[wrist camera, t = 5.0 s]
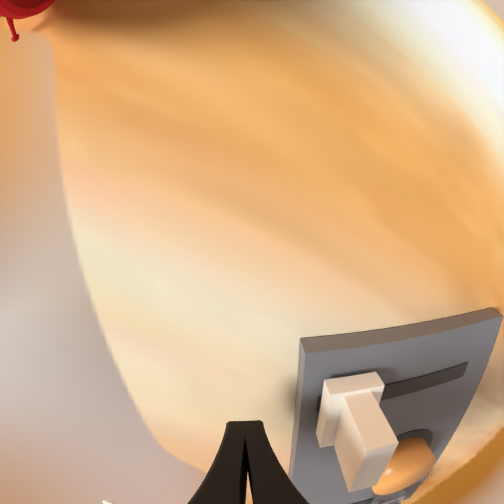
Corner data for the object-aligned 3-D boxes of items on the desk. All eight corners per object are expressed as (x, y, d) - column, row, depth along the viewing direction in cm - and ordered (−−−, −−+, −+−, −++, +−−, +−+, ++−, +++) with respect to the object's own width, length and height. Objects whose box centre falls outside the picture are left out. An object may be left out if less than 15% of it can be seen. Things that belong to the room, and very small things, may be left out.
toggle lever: (375, 371, 11) (414, 434, 7) (361, 424, 12) (387, 483, 8) (324, 379, 11) (351, 451, 7) (315, 433, 12) (333, 497, 8)
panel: (490, 307, 13) (504, 316, 12) (406, 489, 18) (410, 498, 17) (299, 338, 12) (305, 354, 11) (282, 517, 17) (284, 528, 16)
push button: (433, 429, 13) (445, 447, 12) (413, 465, 14) (421, 482, 13) (374, 447, 13) (384, 469, 12) (359, 482, 14) (365, 501, 13)
